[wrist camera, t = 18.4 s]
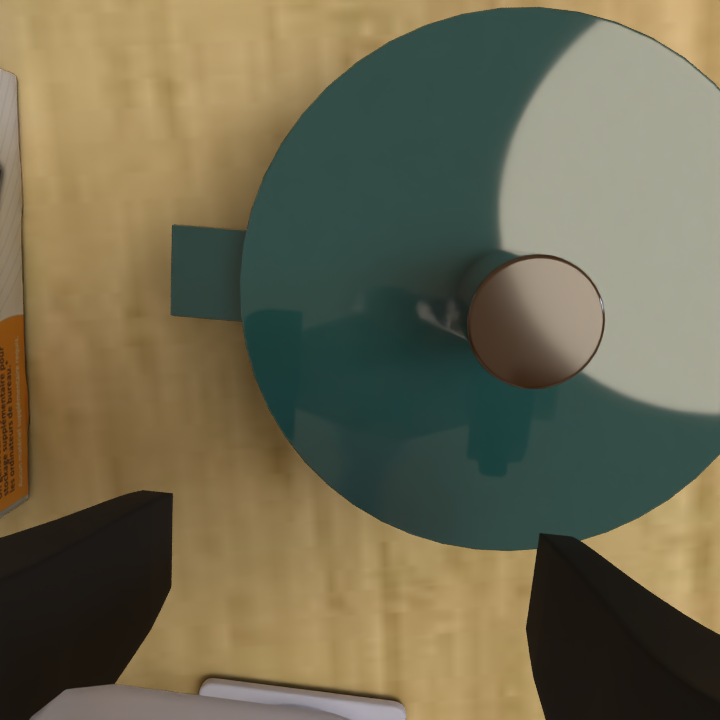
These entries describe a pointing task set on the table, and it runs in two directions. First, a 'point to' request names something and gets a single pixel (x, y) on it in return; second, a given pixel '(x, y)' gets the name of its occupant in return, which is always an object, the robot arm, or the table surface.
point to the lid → (496, 279)
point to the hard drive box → (11, 310)
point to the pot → (206, 272)
